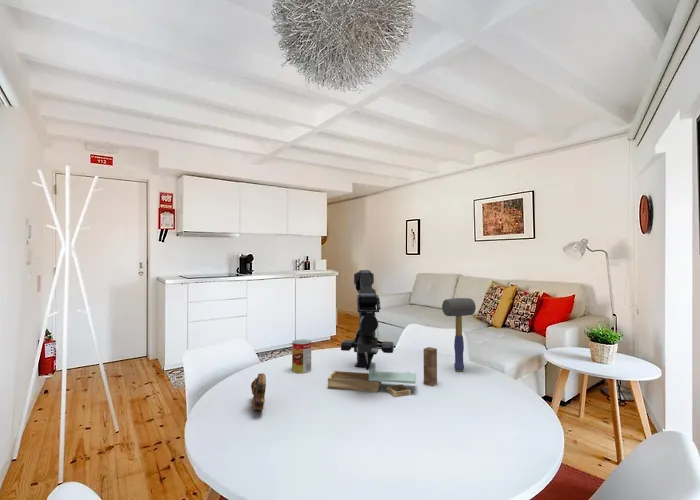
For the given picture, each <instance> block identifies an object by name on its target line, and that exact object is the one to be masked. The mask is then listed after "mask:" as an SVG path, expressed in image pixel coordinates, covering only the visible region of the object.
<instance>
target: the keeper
mask: <svg viewBox="0 0 700 500" xmlns="http://www.w3.org/2000/svg"><path fill="white" fill-rule="evenodd" d="M386 391H387V393H389V394H390V395H392V396H393V397H394V398H397V397H404V396H411V393H412V391H411V389H410V388H408V387H406V386H405V385H404V383H400V384H395V385H394V384H393V385H386Z"/></svg>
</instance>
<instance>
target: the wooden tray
mask: <svg viewBox="0 0 700 500" xmlns="http://www.w3.org/2000/svg"><path fill="white" fill-rule="evenodd" d="M381 384H382V382H381V381H369V372H359V371H341V370H333V371H332V373H331V374H330V375H329V376H328V378H327V389H329V390H330V389H331V390H341V391H342V390H343V391H344V390H345V391H356V392H368V393H370V392H371V393H379V391H380V387H381Z"/></svg>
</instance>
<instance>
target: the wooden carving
mask: <svg viewBox="0 0 700 500" xmlns="http://www.w3.org/2000/svg"><path fill="white" fill-rule="evenodd" d="M266 387H267V377H266V374H265V373H263V372H262V373H258V374H257V377H256V378H254V380H253V381H251V384H250V389H251V394H252V395H253V397H252V409H253V410H254V411H255V410H257V411H263V410H264V405H265V403H266V401H265V397H266V396H265V395H266Z"/></svg>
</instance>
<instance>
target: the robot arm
mask: <svg viewBox="0 0 700 500" xmlns="http://www.w3.org/2000/svg"><path fill="white" fill-rule="evenodd" d="M374 283H375V276H374V273H373V272H371V270H368V269H367V270H366V269H362V270H361V269H360V270H358V271H357V272H355V273H353V285H355V286H354V287H355V290H356V292H357V293H358V294H357V295H356V306H357V307H356V308H357V309H356V310H357V311H356V312H357V313H358V328H357V330H356V331H355V337H354V338H353V339H344V340H343V341H341V343H340V351H343V352H344V351H346V352H347V351H348V352H350V351H351V350H352V349H353V353H356V363H355V365H354V367H356V368H365V371H369V368H370V366H371V364H372V363H373V362H372V360H373V358H374V355H378V352H379V350H381V352H383V353H384V354H393V353H394V350H395V343H394V342H393V341H385V340H384V341H382V343H379V342H378V337H376V330H378V326H379V320H378V319H377V317H376V313H380V310H381V302H380V301H381V300H380V297H379V295H378V294H377V292H376V291H377V290H376V289H374V288H373V285H374Z"/></svg>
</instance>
